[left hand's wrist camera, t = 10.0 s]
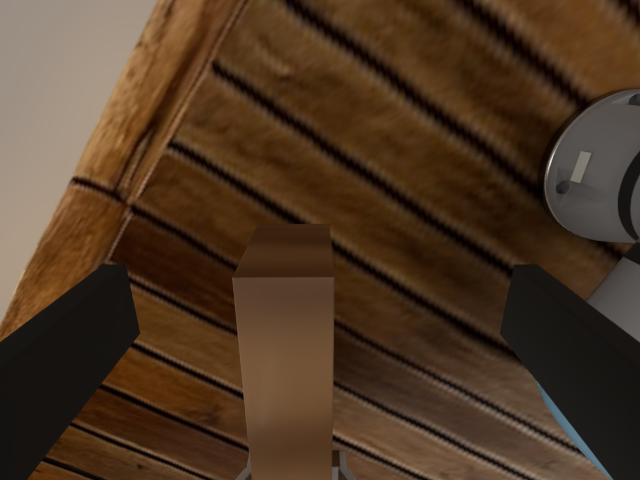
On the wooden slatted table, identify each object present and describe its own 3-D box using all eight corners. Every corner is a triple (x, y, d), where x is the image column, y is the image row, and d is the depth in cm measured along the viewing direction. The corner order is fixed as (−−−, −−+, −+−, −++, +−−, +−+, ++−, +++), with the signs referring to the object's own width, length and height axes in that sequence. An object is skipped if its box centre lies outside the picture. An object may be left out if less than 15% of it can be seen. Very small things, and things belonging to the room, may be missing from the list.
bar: (257, 223, 27) (232, 277, 19) (329, 223, 27) (334, 277, 19) (273, 457, 35) (260, 564, 27) (327, 456, 35) (330, 563, 27)
